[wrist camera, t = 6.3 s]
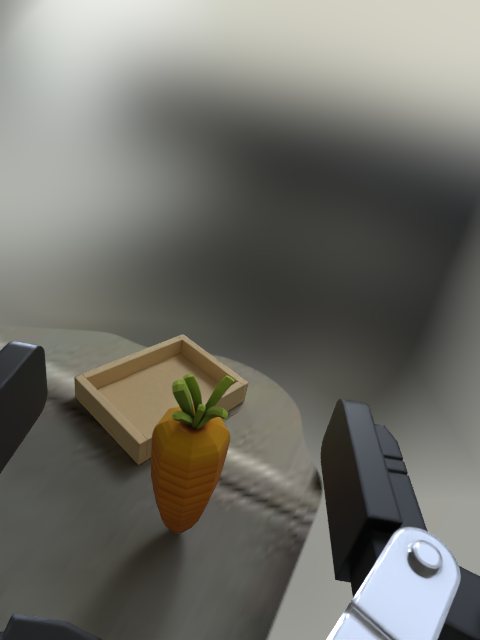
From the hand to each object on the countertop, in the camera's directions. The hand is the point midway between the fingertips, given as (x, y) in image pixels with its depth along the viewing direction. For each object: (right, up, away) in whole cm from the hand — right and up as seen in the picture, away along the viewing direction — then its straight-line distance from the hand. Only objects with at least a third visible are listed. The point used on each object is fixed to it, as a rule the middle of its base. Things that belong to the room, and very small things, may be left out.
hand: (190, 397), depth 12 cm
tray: (-7, -6, +33) cm, 34 cm away
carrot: (-3, -14, +21) cm, 25 cm away
